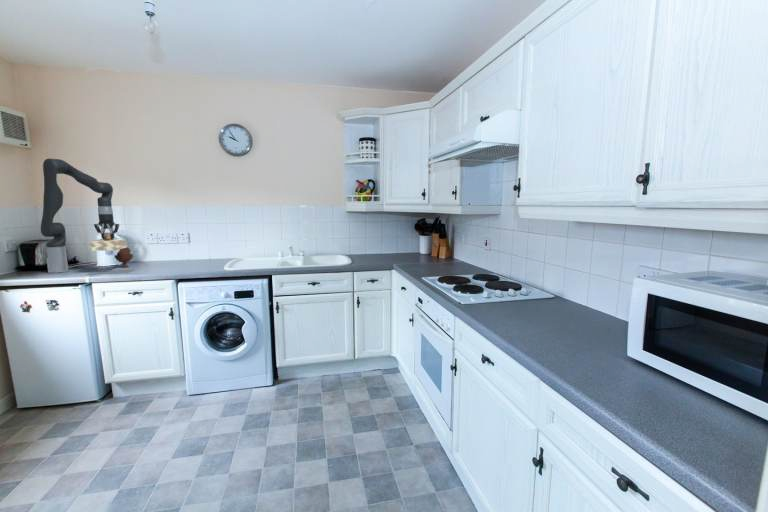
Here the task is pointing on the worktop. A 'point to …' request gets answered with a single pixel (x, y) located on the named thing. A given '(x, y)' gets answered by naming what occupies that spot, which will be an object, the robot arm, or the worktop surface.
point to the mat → (111, 272)
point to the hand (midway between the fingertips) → (108, 239)
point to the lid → (107, 243)
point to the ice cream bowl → (124, 256)
